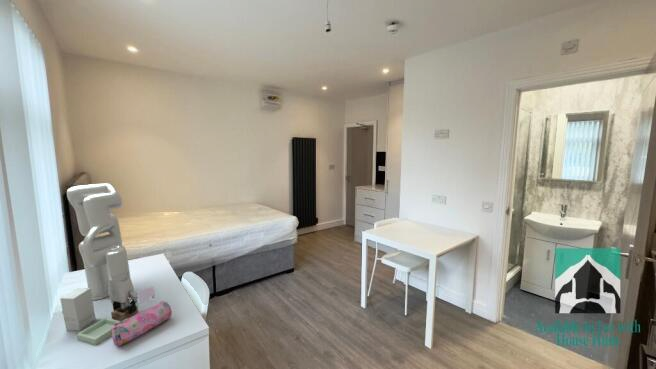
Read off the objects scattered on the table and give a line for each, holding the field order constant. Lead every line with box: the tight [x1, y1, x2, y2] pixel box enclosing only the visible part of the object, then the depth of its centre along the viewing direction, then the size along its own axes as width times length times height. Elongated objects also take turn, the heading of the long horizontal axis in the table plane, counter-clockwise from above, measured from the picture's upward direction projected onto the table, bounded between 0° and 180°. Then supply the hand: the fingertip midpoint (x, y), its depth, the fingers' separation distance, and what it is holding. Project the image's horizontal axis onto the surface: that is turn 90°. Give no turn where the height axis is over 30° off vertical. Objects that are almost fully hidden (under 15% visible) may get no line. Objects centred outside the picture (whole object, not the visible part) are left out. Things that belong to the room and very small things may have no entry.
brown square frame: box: [111, 304, 139, 321], centre depth 124 cm, size 7×7×4 cm
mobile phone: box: [137, 286, 157, 304], centre depth 141 cm, size 8×1×15 cm
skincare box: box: [59, 287, 96, 331], centre depth 117 cm, size 8×7×16 cm
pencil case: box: [109, 300, 173, 347], centre depth 113 cm, size 21×9×9 cm, turn 148°
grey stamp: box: [120, 302, 128, 313], centre depth 123 cm, size 4×4×8 cm
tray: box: [76, 317, 120, 346], centre depth 112 cm, size 11×11×2 cm
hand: (125, 310), depth 123 cm, fingers open, 9 cm apart
